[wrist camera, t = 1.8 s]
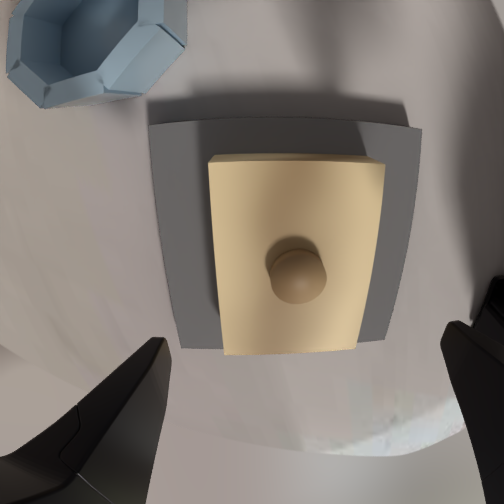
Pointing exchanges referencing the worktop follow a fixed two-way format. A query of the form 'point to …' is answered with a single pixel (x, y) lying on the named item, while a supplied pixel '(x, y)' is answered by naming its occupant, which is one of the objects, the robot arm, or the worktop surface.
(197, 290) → the mat
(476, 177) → the worktop surface
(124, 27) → the bowl
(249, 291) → the lid
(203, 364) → the worktop surface
